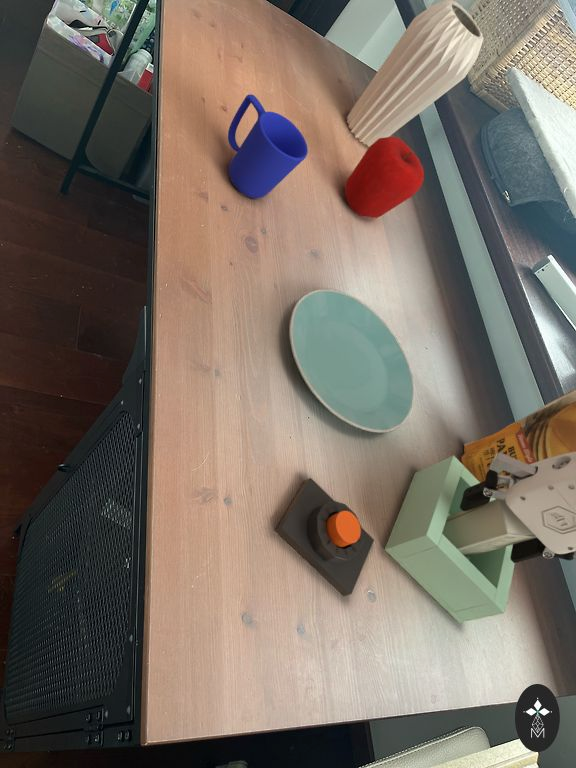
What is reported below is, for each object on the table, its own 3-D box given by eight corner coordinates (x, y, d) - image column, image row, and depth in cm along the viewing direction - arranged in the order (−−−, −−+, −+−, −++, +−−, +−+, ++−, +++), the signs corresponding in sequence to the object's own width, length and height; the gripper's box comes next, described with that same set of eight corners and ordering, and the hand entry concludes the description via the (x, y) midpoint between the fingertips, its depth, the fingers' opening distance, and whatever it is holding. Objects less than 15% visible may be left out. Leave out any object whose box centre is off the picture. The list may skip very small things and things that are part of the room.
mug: (236, 138, 95) (273, 89, 88) (277, 202, 94) (317, 157, 87) (197, 140, 89) (233, 87, 82) (241, 208, 88) (281, 160, 81)
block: (367, 542, 74) (384, 535, 72) (344, 596, 69) (362, 591, 67) (304, 480, 73) (320, 472, 71) (275, 530, 67) (291, 523, 65)
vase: (339, 139, 115) (447, 21, 97) (332, 93, 122) (431, -26, 103) (391, 169, 122) (500, 64, 104) (381, 124, 129) (482, 18, 111)
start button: (354, 529, 70) (364, 525, 69) (343, 553, 68) (354, 549, 67) (333, 508, 70) (343, 503, 69) (321, 532, 67) (331, 527, 66)
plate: (249, 343, 77) (262, 332, 75) (325, 275, 93) (337, 265, 91) (364, 473, 79) (380, 465, 77) (419, 385, 95) (433, 376, 93)
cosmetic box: (453, 528, 84) (530, 501, 75) (461, 561, 82) (541, 537, 73) (421, 524, 80) (498, 495, 72) (428, 559, 78) (508, 534, 70)
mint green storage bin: (480, 539, 88) (522, 526, 83) (459, 623, 78) (505, 613, 73) (414, 472, 85) (453, 455, 81) (384, 549, 75) (426, 534, 71)
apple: (387, 222, 112) (444, 173, 103) (360, 234, 104) (418, 181, 95) (354, 175, 112) (408, 121, 103) (324, 183, 105) (379, 126, 95)
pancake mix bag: (478, 440, 98) (652, 359, 79) (512, 561, 90) (717, 503, 71) (451, 434, 95) (627, 347, 75) (483, 560, 86) (691, 498, 67)
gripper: (567, 447, 60) (434, 500, 72) (675, 564, 62) (529, 597, 74) (574, 401, 65) (449, 458, 77) (673, 511, 68) (537, 550, 80)
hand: (488, 526), depth 76 cm, fingers open, 8 cm apart
